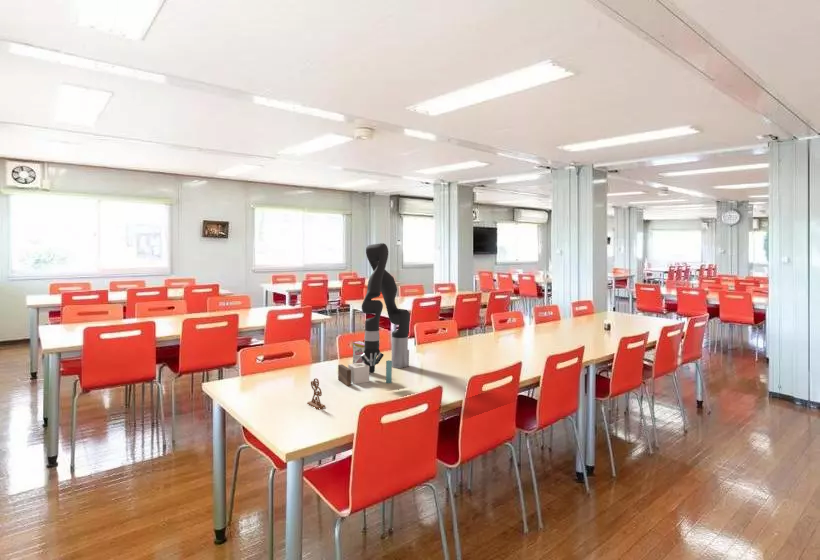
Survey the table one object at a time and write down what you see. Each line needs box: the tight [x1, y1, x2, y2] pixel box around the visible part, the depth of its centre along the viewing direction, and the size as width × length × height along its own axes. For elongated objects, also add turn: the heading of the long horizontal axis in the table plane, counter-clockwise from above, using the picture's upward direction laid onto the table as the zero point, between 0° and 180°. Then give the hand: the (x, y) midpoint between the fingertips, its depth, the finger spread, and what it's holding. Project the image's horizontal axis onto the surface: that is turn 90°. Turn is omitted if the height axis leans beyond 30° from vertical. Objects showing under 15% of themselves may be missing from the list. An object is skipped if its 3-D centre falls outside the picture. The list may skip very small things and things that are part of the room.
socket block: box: [347, 363, 370, 385], centre depth 238 cm, size 8×8×8 cm
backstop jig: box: [337, 363, 352, 387], centre depth 240 cm, size 26×12×9 cm, turn 119°
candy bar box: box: [352, 340, 371, 374], centre depth 257 cm, size 11×5×16 cm, turn 47°
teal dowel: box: [385, 360, 393, 384], centre depth 236 cm, size 3×3×12 cm
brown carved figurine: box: [306, 378, 326, 410], centre depth 203 cm, size 9×4×12 cm, turn 42°
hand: (371, 372), depth 241 cm, fingers closed
